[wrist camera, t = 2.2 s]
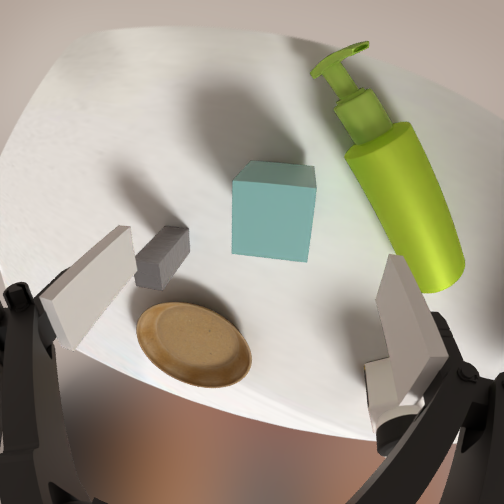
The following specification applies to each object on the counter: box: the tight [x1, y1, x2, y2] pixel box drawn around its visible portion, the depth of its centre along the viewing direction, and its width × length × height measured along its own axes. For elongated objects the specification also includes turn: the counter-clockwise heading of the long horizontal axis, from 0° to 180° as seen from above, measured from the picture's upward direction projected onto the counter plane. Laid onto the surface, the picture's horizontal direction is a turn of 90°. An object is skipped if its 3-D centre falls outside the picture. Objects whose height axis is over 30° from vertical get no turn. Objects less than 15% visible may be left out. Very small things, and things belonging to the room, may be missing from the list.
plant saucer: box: [136, 302, 252, 388], centre depth 36 cm, size 15×15×3 cm
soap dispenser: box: [310, 41, 465, 293], centre depth 20 cm, size 6×7×20 cm
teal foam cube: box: [232, 161, 317, 262], centre depth 22 cm, size 5×5×7 cm
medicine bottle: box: [364, 357, 425, 457], centre depth 29 cm, size 7×7×12 cm
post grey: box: [134, 226, 190, 291], centre depth 27 cm, size 3×3×7 cm
